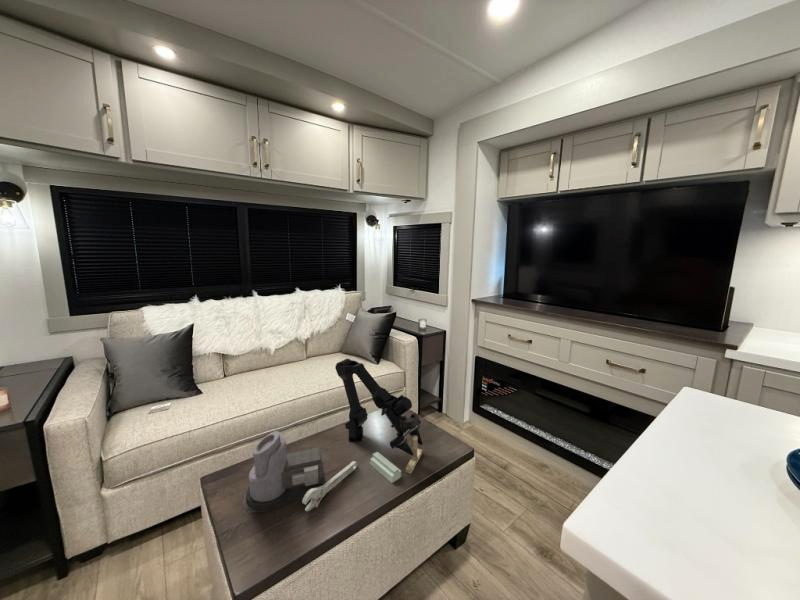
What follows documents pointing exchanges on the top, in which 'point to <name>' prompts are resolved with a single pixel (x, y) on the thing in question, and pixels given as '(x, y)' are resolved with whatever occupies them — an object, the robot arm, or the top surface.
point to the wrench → (326, 487)
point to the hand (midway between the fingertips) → (417, 449)
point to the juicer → (281, 474)
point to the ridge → (385, 467)
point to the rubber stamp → (416, 455)
